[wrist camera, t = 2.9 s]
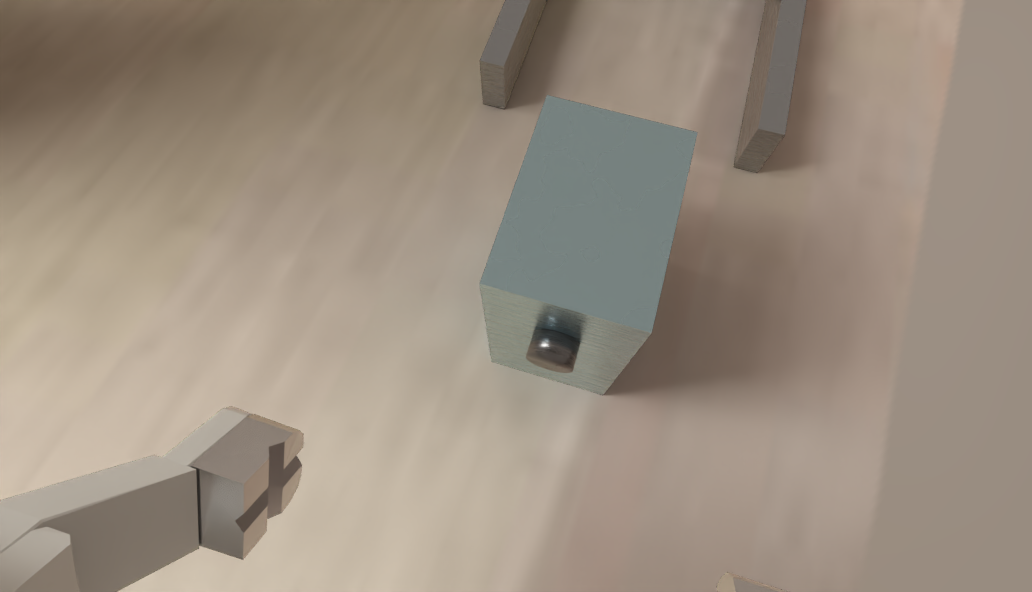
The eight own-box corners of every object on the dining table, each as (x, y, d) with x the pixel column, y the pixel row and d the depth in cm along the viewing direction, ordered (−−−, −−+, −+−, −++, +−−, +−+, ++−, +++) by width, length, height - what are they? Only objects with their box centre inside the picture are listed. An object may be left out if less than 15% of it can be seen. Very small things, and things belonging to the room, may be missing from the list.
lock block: (597, 415, 23) (644, 363, 15) (485, 381, 24) (469, 312, 15) (638, 253, 26) (697, 132, 18) (536, 225, 27) (546, 95, 18)
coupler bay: (757, 173, 28) (784, 135, 25) (483, 103, 29) (479, 60, 26) (790, -13, 32) (816, -63, 29) (551, -65, 34) (554, -117, 31)
